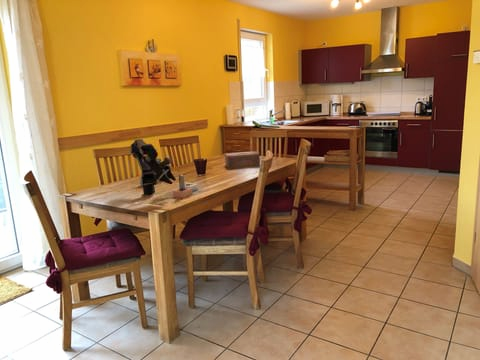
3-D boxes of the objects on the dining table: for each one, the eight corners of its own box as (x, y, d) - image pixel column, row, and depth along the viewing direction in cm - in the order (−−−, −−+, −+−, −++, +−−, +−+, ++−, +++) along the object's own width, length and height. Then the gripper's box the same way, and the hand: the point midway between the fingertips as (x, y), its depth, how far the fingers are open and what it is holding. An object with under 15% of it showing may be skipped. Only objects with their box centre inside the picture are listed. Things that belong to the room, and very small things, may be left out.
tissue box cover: (256, 163, 323) (255, 151, 321) (260, 166, 309) (259, 153, 307) (225, 165, 319) (224, 153, 317) (228, 168, 305) (227, 156, 303)
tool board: (185, 200, 216) (184, 198, 215) (162, 198, 224) (162, 196, 223) (207, 191, 234) (207, 189, 234) (186, 189, 242) (185, 187, 242)
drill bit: (183, 196, 221) (181, 175, 219) (179, 195, 223) (177, 175, 220) (186, 195, 224) (184, 174, 221) (182, 194, 225) (180, 174, 223)
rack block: (184, 197, 218) (183, 191, 217) (173, 196, 222) (172, 190, 221) (192, 194, 225) (192, 188, 224) (181, 193, 229) (181, 187, 228)
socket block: (190, 192, 229) (189, 186, 229) (179, 191, 233) (179, 185, 233) (198, 189, 236) (197, 183, 235) (187, 188, 240) (187, 182, 239)
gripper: (157, 156, 210) (179, 175, 212) (166, 151, 228) (186, 168, 230) (145, 170, 212) (166, 189, 214) (154, 164, 230) (174, 182, 232)
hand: (173, 181), depth 222 cm, fingers open, 9 cm apart
